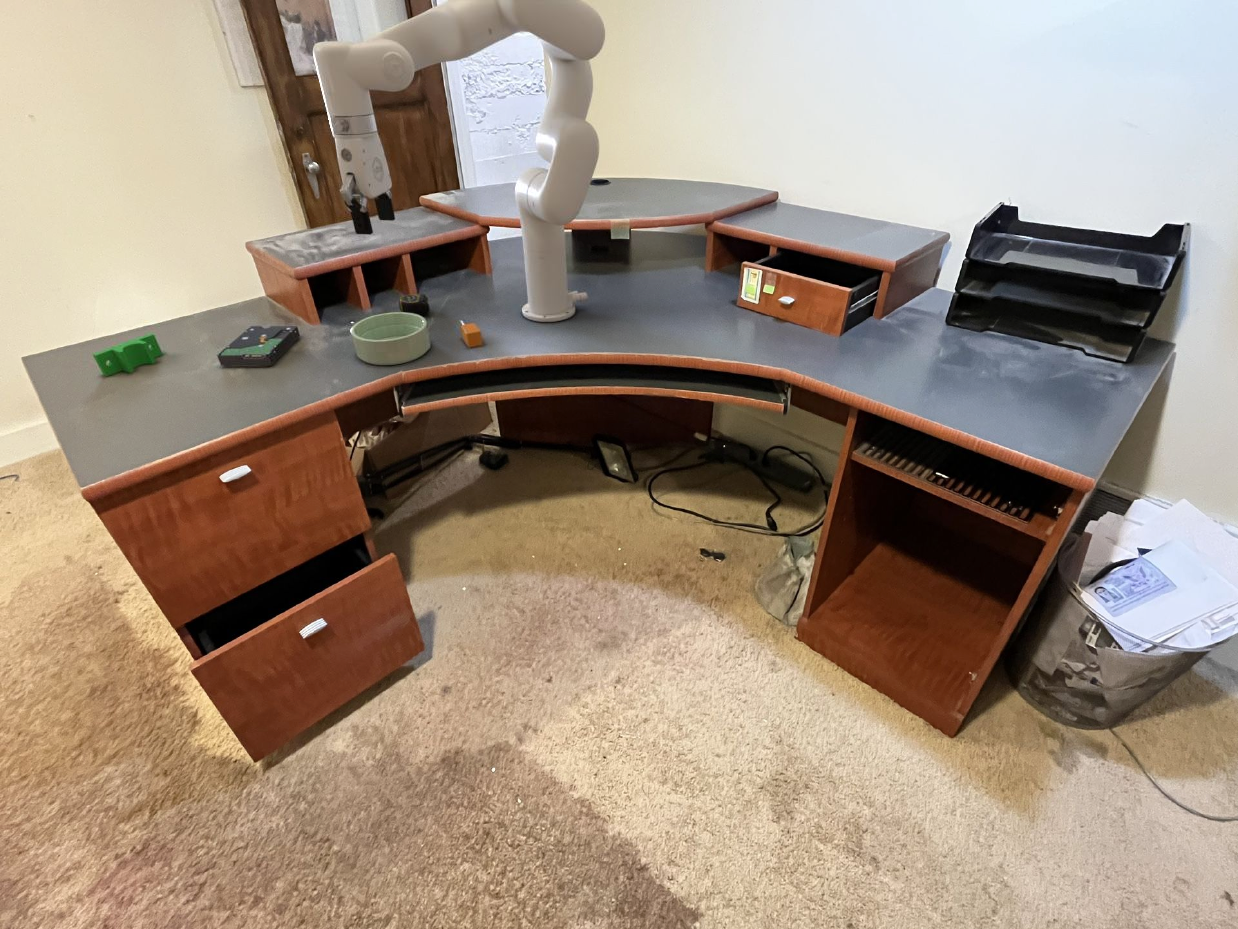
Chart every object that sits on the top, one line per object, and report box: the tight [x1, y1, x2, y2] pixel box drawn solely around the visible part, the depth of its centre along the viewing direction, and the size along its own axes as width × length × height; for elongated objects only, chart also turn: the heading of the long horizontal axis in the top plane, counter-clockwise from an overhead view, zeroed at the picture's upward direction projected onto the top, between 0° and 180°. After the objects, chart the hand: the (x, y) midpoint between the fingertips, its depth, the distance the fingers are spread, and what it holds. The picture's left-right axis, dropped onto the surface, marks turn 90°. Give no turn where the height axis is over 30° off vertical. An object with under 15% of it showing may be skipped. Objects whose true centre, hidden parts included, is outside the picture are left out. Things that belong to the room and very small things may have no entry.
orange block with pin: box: [458, 319, 484, 348], centre depth 136 cm, size 12×3×3 cm, turn 27°
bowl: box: [349, 311, 432, 366], centre depth 130 cm, size 15×15×6 cm
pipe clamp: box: [92, 333, 164, 377], centre depth 124 cm, size 11×4×5 cm, turn 153°
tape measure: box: [398, 293, 430, 316], centre depth 147 cm, size 7×7×4 cm
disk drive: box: [216, 325, 301, 367], centre depth 130 cm, size 10×3×15 cm
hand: (376, 226), depth 119 cm, fingers open, 9 cm apart
